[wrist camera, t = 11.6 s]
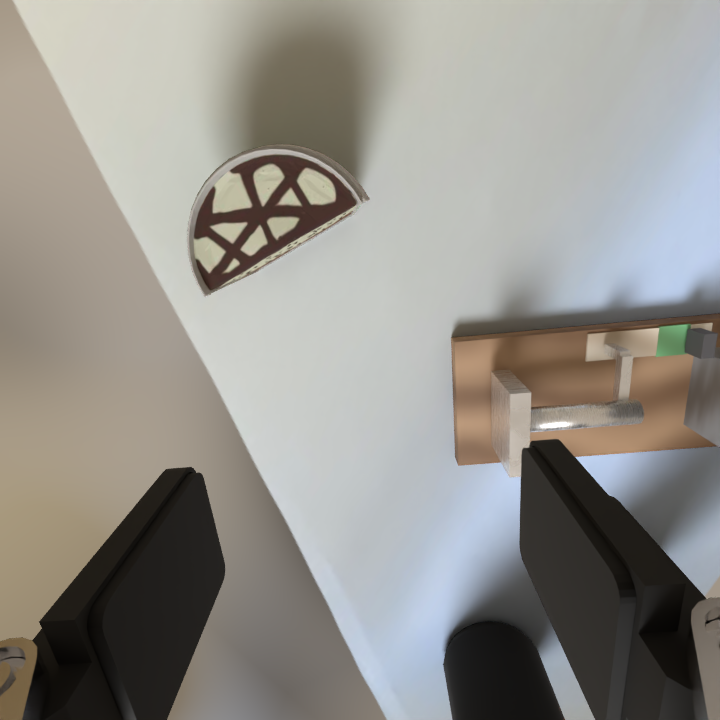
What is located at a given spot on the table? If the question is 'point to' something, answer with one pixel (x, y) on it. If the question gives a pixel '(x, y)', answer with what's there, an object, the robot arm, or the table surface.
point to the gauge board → (593, 385)
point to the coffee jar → (497, 676)
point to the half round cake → (265, 210)
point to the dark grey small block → (701, 343)
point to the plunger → (555, 411)
